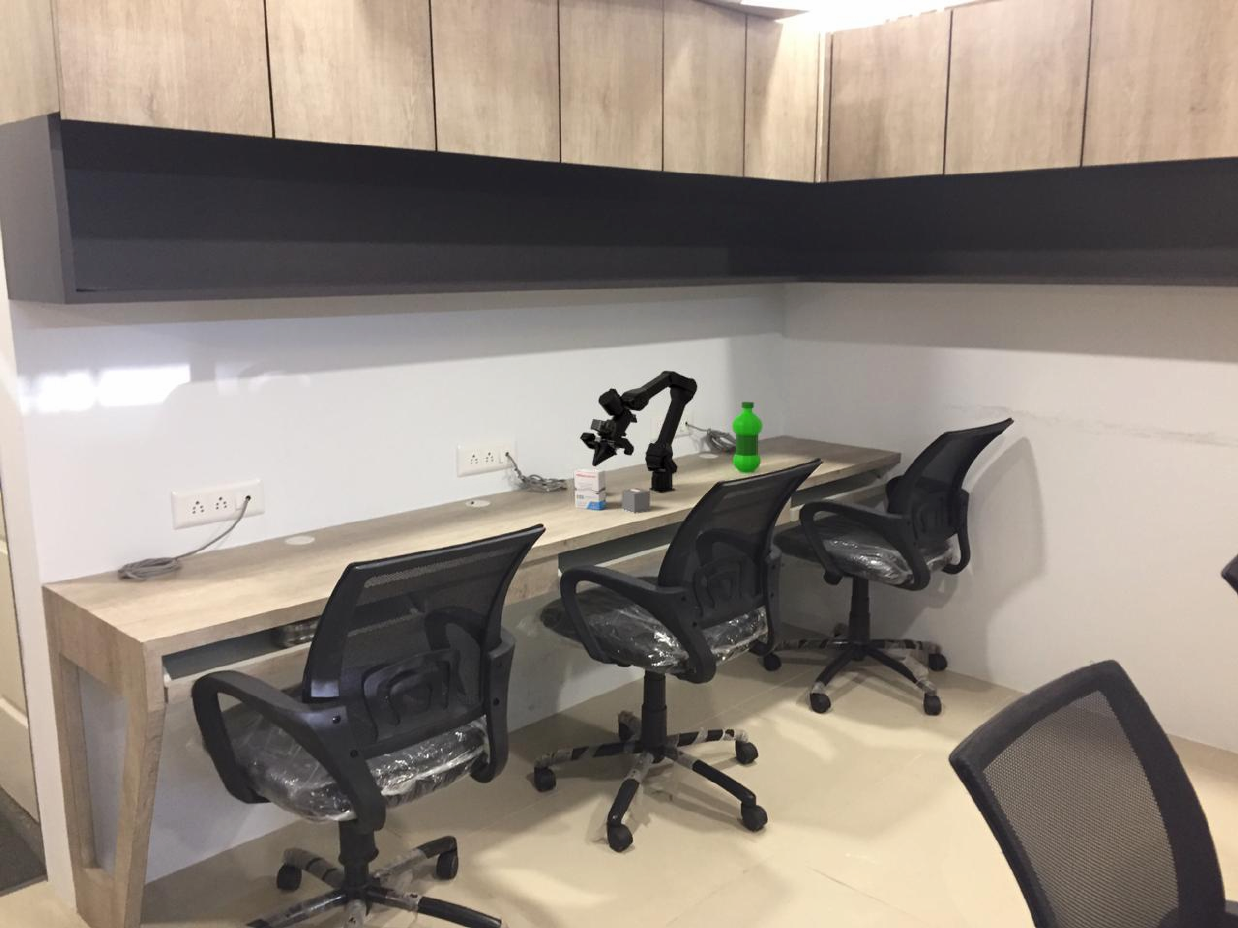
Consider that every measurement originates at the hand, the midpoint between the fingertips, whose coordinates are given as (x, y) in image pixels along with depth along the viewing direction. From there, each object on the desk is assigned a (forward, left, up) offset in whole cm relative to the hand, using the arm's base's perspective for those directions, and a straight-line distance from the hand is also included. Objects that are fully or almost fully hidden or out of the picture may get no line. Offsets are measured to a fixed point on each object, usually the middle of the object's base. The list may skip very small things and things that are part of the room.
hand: (593, 465), depth 301 cm
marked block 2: (-7, +11, -13) cm, 19 cm away
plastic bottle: (-75, -10, -13) cm, 77 cm away
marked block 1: (-6, -13, -13) cm, 19 cm away
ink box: (+2, 0, -13) cm, 13 cm away
